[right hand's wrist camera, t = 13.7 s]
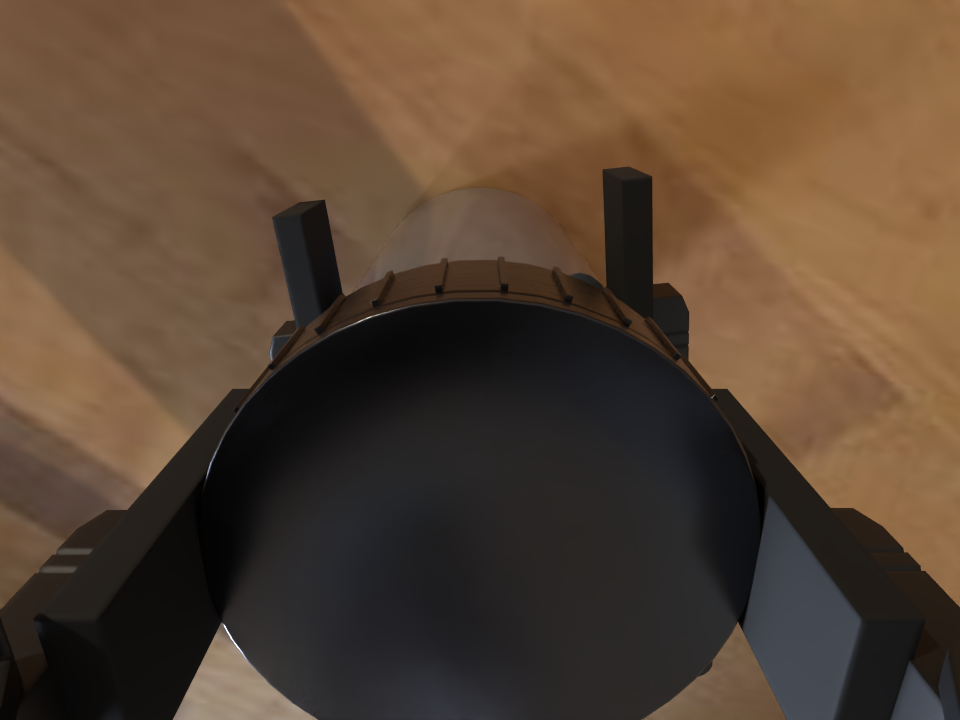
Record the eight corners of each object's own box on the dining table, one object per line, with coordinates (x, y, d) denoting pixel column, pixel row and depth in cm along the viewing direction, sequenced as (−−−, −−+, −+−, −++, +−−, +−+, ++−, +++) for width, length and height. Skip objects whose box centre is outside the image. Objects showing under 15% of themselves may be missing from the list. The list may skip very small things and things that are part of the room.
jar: (332, 306, 25) (140, 571, 11) (467, 139, 23) (445, 197, 9) (490, 426, 27) (502, 786, 13) (628, 283, 25) (829, 527, 11)
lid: (156, 507, 13) (87, 593, 11) (449, 137, 10) (440, 147, 8) (500, 722, 15) (504, 831, 13) (813, 461, 12) (886, 540, 10)
